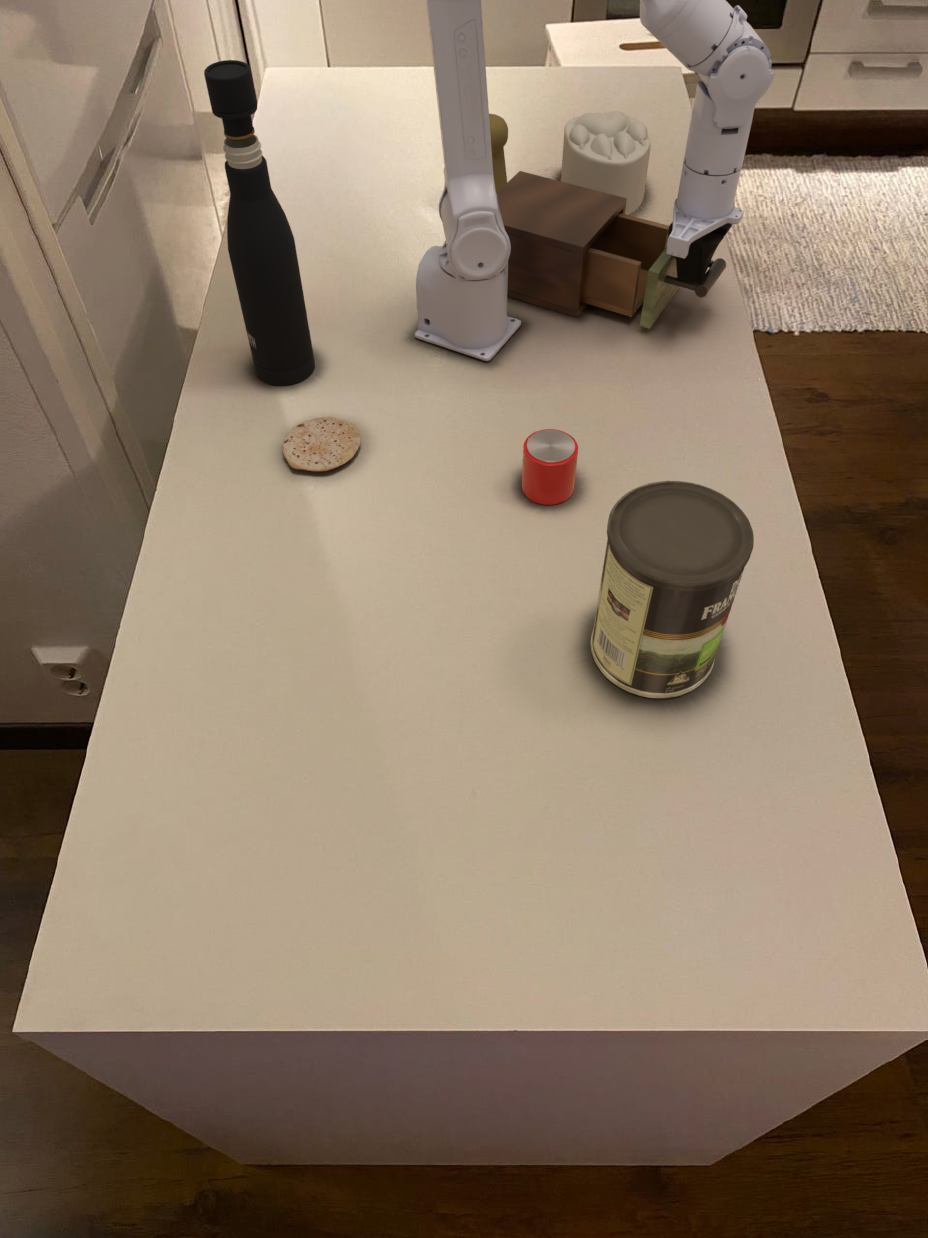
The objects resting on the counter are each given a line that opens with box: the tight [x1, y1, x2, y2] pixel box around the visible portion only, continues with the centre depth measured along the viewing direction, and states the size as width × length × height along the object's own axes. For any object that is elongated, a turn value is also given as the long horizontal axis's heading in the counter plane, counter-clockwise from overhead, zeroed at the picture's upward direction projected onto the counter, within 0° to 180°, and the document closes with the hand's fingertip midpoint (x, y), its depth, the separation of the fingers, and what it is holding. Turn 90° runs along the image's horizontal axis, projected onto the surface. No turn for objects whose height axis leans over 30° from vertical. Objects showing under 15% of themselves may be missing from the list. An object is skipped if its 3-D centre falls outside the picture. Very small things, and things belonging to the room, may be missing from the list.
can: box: [521, 428, 579, 506], centre depth 88 cm, size 5×5×5 cm
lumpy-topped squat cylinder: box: [560, 110, 652, 216], centre depth 121 cm, size 10×13×9 cm
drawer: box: [581, 213, 727, 329], centre depth 106 cm, size 17×10×7 cm, turn 61°
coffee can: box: [590, 480, 755, 699], centre depth 73 cm, size 10×10×14 cm
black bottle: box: [203, 59, 316, 387], centre depth 90 cm, size 6×6×30 cm
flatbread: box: [282, 416, 362, 472], centre depth 93 cm, size 8×8×1 cm
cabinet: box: [497, 170, 627, 318], centre depth 109 cm, size 14×12×9 cm
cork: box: [489, 113, 509, 193], centre depth 118 cm, size 6×6×11 cm
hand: (688, 285), depth 104 cm, fingers closed
